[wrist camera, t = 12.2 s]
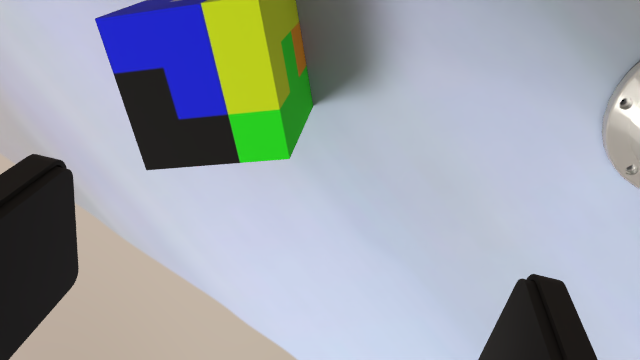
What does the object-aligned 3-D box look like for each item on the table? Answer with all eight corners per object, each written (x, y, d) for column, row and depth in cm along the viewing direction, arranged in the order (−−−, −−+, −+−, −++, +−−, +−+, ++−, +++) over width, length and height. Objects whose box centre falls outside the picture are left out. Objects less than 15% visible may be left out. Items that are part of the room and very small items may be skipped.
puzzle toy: (164, -7, 39) (94, 18, 30) (291, -26, 37) (257, -5, 28) (198, 117, 43) (146, 170, 34) (313, 105, 41) (289, 158, 32)
